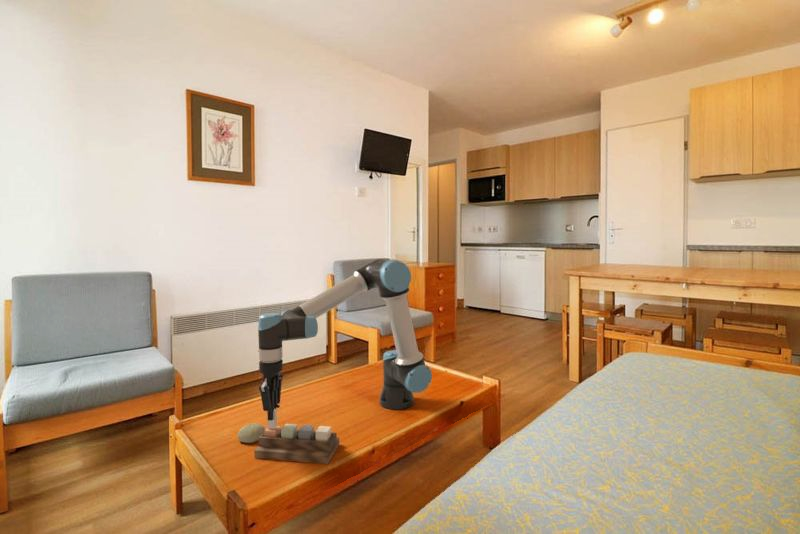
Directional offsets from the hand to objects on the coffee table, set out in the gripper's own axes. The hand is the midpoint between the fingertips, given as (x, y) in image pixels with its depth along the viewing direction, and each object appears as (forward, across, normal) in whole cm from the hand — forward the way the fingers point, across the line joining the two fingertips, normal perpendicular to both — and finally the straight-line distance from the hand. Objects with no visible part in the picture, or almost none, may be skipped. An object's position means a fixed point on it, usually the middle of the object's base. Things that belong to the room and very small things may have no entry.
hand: (272, 427), depth 133 cm
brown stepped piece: (+8, 0, +9) cm, 12 cm away
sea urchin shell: (+8, -6, -11) cm, 15 cm away
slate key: (+3, 0, +12) cm, 12 cm away
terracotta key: (+4, 0, 0) cm, 4 cm away
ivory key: (+3, 0, +18) cm, 18 cm away
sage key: (+3, 0, +6) cm, 7 cm away
